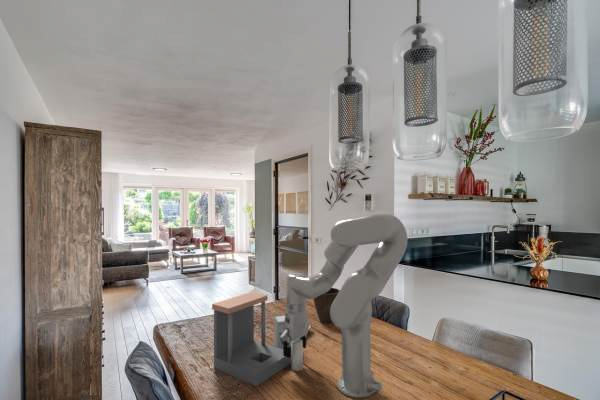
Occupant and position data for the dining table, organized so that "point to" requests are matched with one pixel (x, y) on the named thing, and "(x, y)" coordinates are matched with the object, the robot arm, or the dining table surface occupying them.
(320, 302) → the plant pot
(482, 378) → the dining table surface
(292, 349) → the peg
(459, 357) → the dining table surface
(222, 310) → the socket station
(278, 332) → the supplement box
